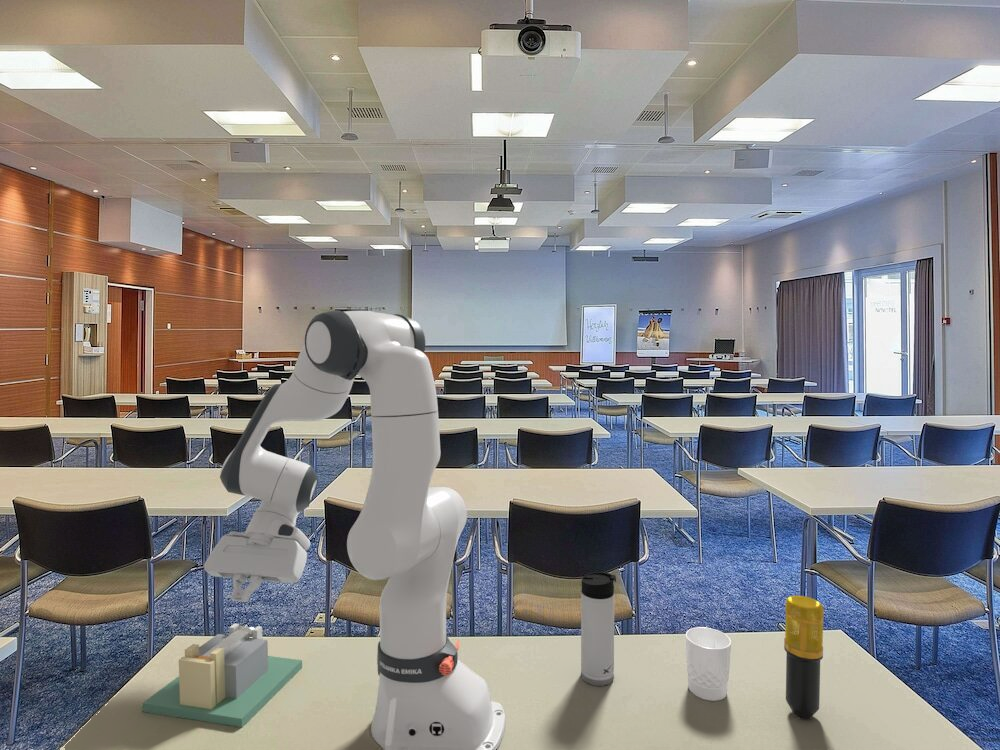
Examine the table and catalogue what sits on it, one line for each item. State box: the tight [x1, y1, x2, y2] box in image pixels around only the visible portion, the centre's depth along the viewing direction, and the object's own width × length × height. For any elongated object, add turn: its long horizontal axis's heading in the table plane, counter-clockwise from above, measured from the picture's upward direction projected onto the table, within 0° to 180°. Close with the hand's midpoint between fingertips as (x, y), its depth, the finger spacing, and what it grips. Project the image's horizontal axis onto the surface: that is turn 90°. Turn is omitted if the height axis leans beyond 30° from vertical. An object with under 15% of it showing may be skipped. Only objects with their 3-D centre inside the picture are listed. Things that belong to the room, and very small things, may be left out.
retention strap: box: [195, 625, 255, 660], centre depth 104 cm, size 4×13×2 cm, turn 168°
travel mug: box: [580, 571, 617, 687], centre depth 107 cm, size 6×7×20 cm
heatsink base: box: [141, 623, 303, 728], centre depth 104 cm, size 20×18×10 cm
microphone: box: [783, 595, 825, 720], centre depth 96 cm, size 6×13×20 cm, turn 99°
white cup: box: [685, 626, 732, 702], centre depth 103 cm, size 8×8×10 cm
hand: (238, 600), depth 107 cm, fingers closed
